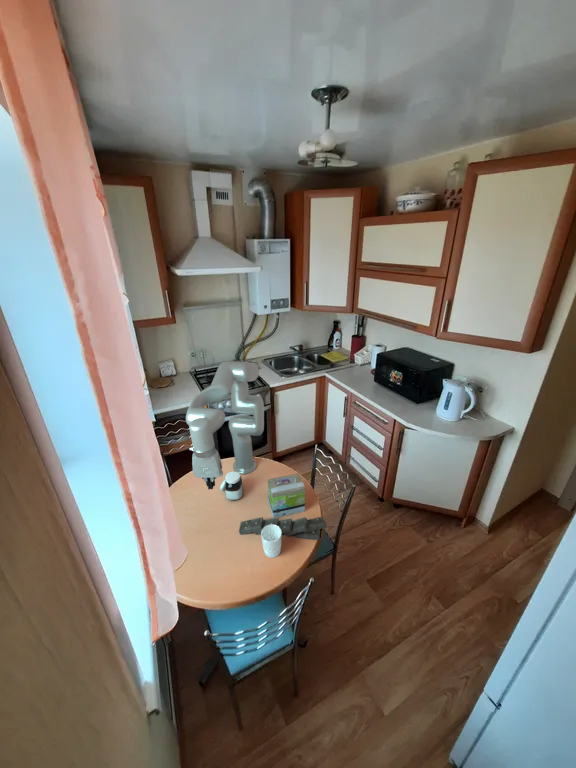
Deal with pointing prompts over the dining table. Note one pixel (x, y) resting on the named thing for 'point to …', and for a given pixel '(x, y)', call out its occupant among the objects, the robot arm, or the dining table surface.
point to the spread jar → (232, 486)
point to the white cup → (271, 540)
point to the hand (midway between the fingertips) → (211, 486)
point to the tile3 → (298, 526)
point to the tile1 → (268, 522)
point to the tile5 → (309, 535)
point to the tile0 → (251, 525)
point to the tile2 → (285, 525)
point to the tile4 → (315, 524)
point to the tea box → (286, 495)
